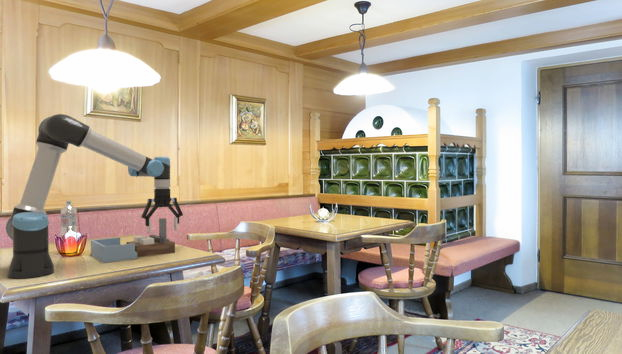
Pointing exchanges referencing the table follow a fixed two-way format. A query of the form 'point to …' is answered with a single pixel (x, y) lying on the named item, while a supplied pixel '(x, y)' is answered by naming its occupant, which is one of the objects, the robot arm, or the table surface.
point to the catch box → (112, 250)
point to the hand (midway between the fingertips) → (162, 231)
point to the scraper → (161, 232)
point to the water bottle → (68, 218)
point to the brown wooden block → (154, 248)
